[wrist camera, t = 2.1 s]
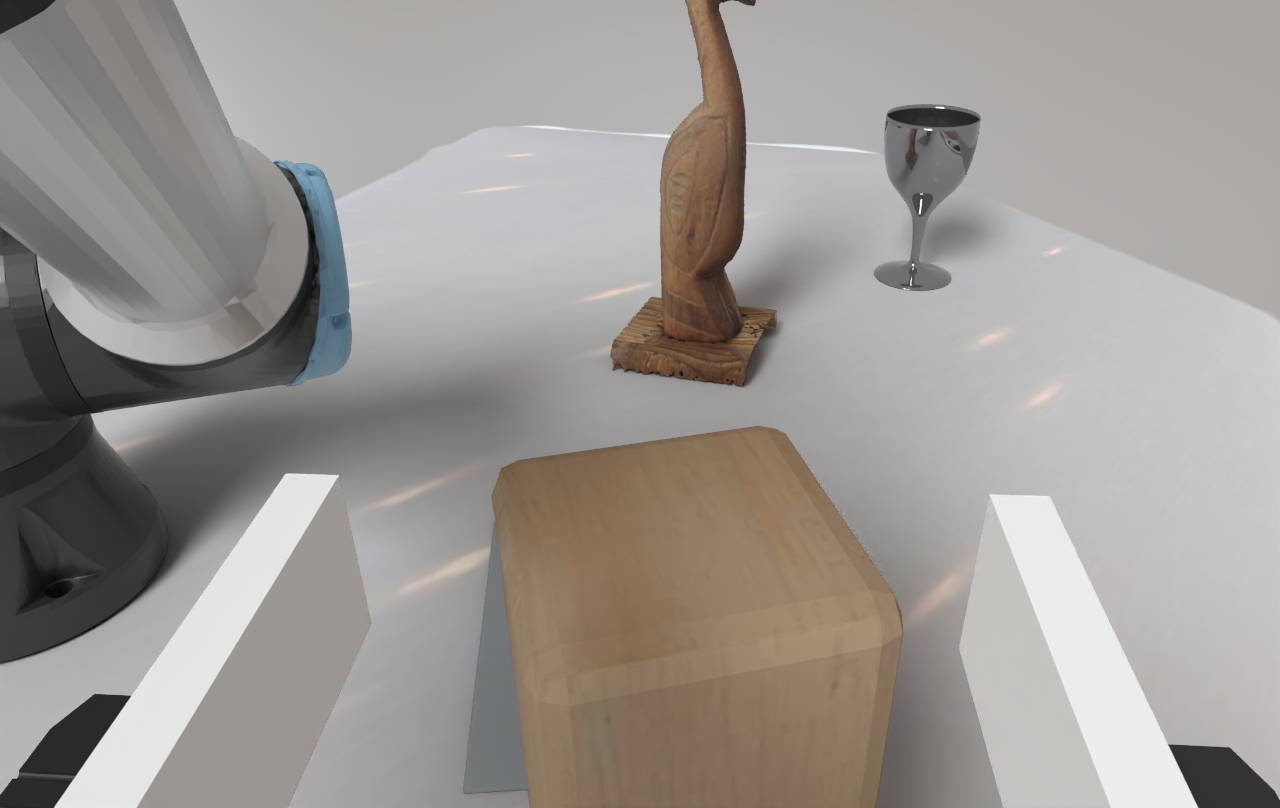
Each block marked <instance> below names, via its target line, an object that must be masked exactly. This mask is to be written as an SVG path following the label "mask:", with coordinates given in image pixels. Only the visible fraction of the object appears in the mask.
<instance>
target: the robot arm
mask: <svg viewBox="0 0 1280 808" xmlns="http://www.w3.org/2000/svg"><path fill="white" fill-rule="evenodd" d="M348 309H349V287H348V279H347V271H346V263H345V256H344V250H343V243H342V237H341V232H340V227H339V221H338V216H337V211H336V207H335V203H334V199H333V195H332V191H331V189H330V187H329V185H328V182H327V179H326V177H325V175H324V173H323V172H322V171H321V170H320V169H319V168H318V167H316V166H314V165H312V164H307V163H298V164H297V163H296V164H293V163H292V162H289V161H275V162H274V163H273V162H272V161H271V160H270V159H268V158H267V157H266V156H265V155H264V154H262V153H261V152H260V151H259V150H258V149H256V148H255V147H253V146H252V145H250V144H248V143H247V142H245V141H244V140H242V139H240V138H238V137H236V136H234V135H233V133H232V130H231V128H230V126H229V124H228V121H227V119H226V117H225V115H224V113H223V110H222V108H221V106H220V104H219V101H218V99H217V97H216V95H215V92H214V90H213V88H212V86H211V84H210V81H209V79H208V77H207V75H206V72H205V70H204V68H203V66H202V63H201V61H200V59H199V57H198V54H197V52H196V50H195V48H194V46H193V43H192V41H191V39H190V37H189V34H188V32H187V30H186V28H185V25H184V23H183V21H182V19H181V16H180V14H179V12H178V10H177V8H176V5H175V4H174V1H173V0H0V662H5V661H9V660H12V659H16V658H20V657H23V656H26V655H29V654H32V653H35V652H38V651H41V650H44V649H46V648H49V647H51V646H54V645H56V644H59V643H61V642H63V641H65V640H68V639H70V638H72V637H74V636H76V635H78V634H80V633H82V632H84V631H85V630H87V629H89V628H91V627H93V626H94V625H96V624H98V623H99V622H101V621H102V620H104V619H106V618H107V617H109V616H110V615H112V614H113V613H114V612H116V611H117V610H119V609H120V608H121V607H122V606H124V605H125V604H126V603H127V602H129V601H130V600H131V599H132V598H133V597H134V596H135V595H137V594H138V593H139V592H140V591H141V590H142V589H143V588H144V587H145V585H146V584H147V583H148V582H149V581H150V580H151V578H152V577H153V576H154V574H155V573H156V571H157V570H158V568H159V567H160V565H161V563H162V561H163V559H164V556H165V553H166V550H167V544H168V535H167V530H166V527H165V524H164V521H163V518H162V515H161V512H160V509H159V506H158V504H157V502H156V500H155V498H154V496H153V494H152V493H151V492H150V490H149V489H148V488H147V487H146V486H144V485H143V484H142V483H141V482H140V481H139V480H138V479H137V477H136V476H135V475H134V474H133V472H132V471H131V470H130V469H129V467H128V466H127V465H126V464H125V463H124V461H123V460H122V459H121V458H120V456H119V455H118V454H117V453H116V452H115V451H114V450H113V448H112V447H111V446H110V445H109V444H108V443H107V442H106V440H105V439H104V438H103V437H102V436H101V435H100V433H99V432H98V431H97V429H96V427H95V425H94V422H93V419H92V417H91V414H92V413H98V412H104V411H109V410H116V409H123V408H129V407H136V406H143V405H150V404H156V403H163V402H170V401H176V400H183V399H190V398H197V397H203V396H210V395H217V394H223V393H230V392H237V391H243V390H250V389H257V388H264V387H270V386H277V385H287V386H295V385H299V384H301V383H303V382H304V381H305V380H309V379H313V378H318V377H322V376H326V375H330V374H333V373H335V372H337V371H338V370H340V369H341V368H342V367H343V366H344V365H345V364H346V362H347V360H348V358H349V355H350V351H351V341H352V330H351V319H350V313H349V311H348ZM370 625H371V619H370V615H369V610H368V605H367V601H366V596H365V592H364V587H363V582H362V578H361V573H360V569H359V564H358V559H357V555H356V550H355V546H354V541H353V536H352V532H351V527H350V523H349V518H348V513H347V509H346V504H345V500H344V495H343V491H342V486H341V481H340V477H339V475H320V474H285V475H284V477H283V478H282V480H281V481H280V483H279V484H278V485H277V487H276V488H275V490H274V491H273V493H272V494H271V495H270V497H269V498H268V500H267V501H266V503H265V504H264V506H263V507H262V508H261V510H260V511H259V513H258V514H257V516H256V517H255V519H254V520H253V521H252V523H251V524H250V526H249V527H248V529H247V530H246V532H245V533H244V534H243V536H242V537H241V539H240V540H239V542H238V543H237V545H236V546H235V547H234V549H233V550H232V552H231V553H230V555H229V556H228V557H227V559H226V560H225V562H224V563H223V565H222V566H221V568H220V569H219V570H218V572H217V573H216V575H215V576H214V578H213V579H212V581H211V582H210V583H209V585H208V586H207V588H206V589H205V591H204V592H203V594H202V595H201V596H200V598H199V599H198V601H197V602H196V604H195V605H194V607H193V608H192V609H191V611H190V612H189V614H188V615H187V617H186V618H185V619H184V621H183V622H182V624H181V625H180V627H179V628H178V630H177V631H176V632H175V634H174V635H173V637H172V638H171V640H170V641H169V643H168V644H167V645H166V647H165V648H164V650H163V651H162V653H161V654H160V656H159V657H158V658H157V660H156V661H155V663H154V664H153V666H152V667H151V669H150V670H149V671H148V673H147V674H146V676H145V677H144V679H143V680H142V681H141V683H140V684H139V686H138V687H137V689H136V690H135V692H134V693H133V694H132V696H125V695H105V694H94V695H93V696H92V697H90V698H89V699H88V700H87V701H85V702H84V703H83V704H81V705H80V706H79V707H78V708H76V709H75V710H74V711H73V712H71V713H70V714H69V715H68V716H66V717H65V718H64V719H62V720H61V721H60V722H59V723H57V724H56V725H55V726H54V727H52V728H51V729H50V730H49V732H48V733H47V734H46V736H45V737H44V738H43V740H42V741H41V742H40V743H39V745H38V746H37V747H36V749H35V750H34V751H33V753H32V754H31V755H30V757H29V758H28V759H27V761H26V762H25V763H24V765H23V766H22V767H21V769H20V770H19V776H18V778H17V779H12V780H11V782H10V783H9V784H8V786H7V787H6V788H5V790H4V791H3V792H2V794H1V795H0V808H288V806H289V804H290V801H291V799H292V797H293V795H294V793H295V790H296V788H297V786H298V784H299V782H300V779H301V777H302V775H303V773H304V771H305V768H306V766H307V764H308V762H309V760H310V757H311V755H312V753H313V751H314V749H315V746H316V744H317V742H318V740H319V738H320V735H321V733H322V731H323V729H324V727H325V724H326V722H327V720H328V718H329V716H330V713H331V711H332V709H333V707H334V705H335V702H336V700H337V698H338V696H339V694H340V691H341V689H342V687H343V685H344V683H345V680H346V678H347V676H348V674H349V672H350V669H351V667H352V665H353V663H354V661H355V658H356V656H357V654H358V652H359V650H360V647H361V645H362V643H363V641H364V639H365V636H366V634H367V632H368V630H369V628H370ZM959 650H960V654H961V658H962V661H963V665H964V668H965V672H966V676H967V679H968V683H969V686H970V690H971V694H972V697H973V701H974V704H975V708H976V712H977V715H978V719H979V723H980V726H981V730H982V733H983V737H984V741H985V744H986V748H987V751H988V755H989V759H990V762H991V766H992V769H993V773H994V777H995V780H996V784H997V787H998V791H999V795H1000V798H1001V802H1002V805H1003V808H1280V800H1279V798H1278V796H1277V795H1276V793H1275V791H1274V790H1273V789H1272V788H1271V787H1270V786H1269V785H1268V784H1267V783H1266V782H1265V781H1264V780H1263V779H1262V778H1261V777H1260V776H1258V775H1257V774H1256V773H1255V772H1254V771H1253V770H1252V769H1251V768H1250V767H1249V766H1248V765H1247V764H1246V763H1245V762H1244V761H1243V760H1242V759H1241V758H1240V757H1239V756H1238V755H1237V754H1236V753H1235V752H1234V751H1233V750H1232V749H1231V748H1229V747H1208V746H1188V745H1168V744H1167V741H1166V739H1165V737H1164V735H1163V733H1162V731H1161V729H1160V727H1159V725H1158V723H1157V720H1156V718H1155V716H1154V714H1153V712H1152V710H1151V708H1150V706H1149V704H1148V702H1147V699H1146V697H1145V695H1144V693H1143V691H1142V689H1141V687H1140V685H1139V683H1138V681H1137V678H1136V676H1135V674H1134V672H1133V670H1132V668H1131V666H1130V664H1129V662H1128V660H1127V658H1126V655H1125V653H1124V651H1123V649H1122V647H1121V645H1120V643H1119V641H1118V639H1117V637H1116V634H1115V632H1114V630H1113V628H1112V626H1111V624H1110V622H1109V620H1108V618H1107V616H1106V613H1105V611H1104V609H1103V607H1102V605H1101V603H1100V601H1099V599H1098V597H1097V595H1096V593H1095V590H1094V588H1093V586H1092V584H1091V582H1090V580H1089V578H1088V576H1087V574H1086V572H1085V569H1084V567H1083V565H1082V563H1081V561H1080V559H1079V557H1078V555H1077V553H1076V551H1075V548H1074V546H1073V544H1072V542H1071V540H1070V538H1069V536H1068V534H1067V532H1066V530H1065V528H1064V525H1063V523H1062V521H1061V519H1060V517H1059V515H1058V513H1057V511H1056V509H1055V507H1054V504H1053V502H1052V500H1051V498H1050V496H1027V495H993V494H989V499H988V504H987V509H986V514H985V519H984V524H983V529H982V535H981V540H980V545H979V550H978V555H977V560H976V565H975V570H974V575H973V580H972V585H971V590H970V595H969V600H968V605H967V610H966V615H965V620H964V625H963V630H962V635H961V640H960V645H959Z"/></svg>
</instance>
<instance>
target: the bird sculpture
mask: <svg viewBox="0 0 1280 808" xmlns="http://www.w3.org/2000/svg"><path fill="white" fill-rule="evenodd" d="M725 1H729V0H685V2H686V4H687V7H688V14H689V17H690V21H691V25H692V29H693V33H694V37H695V41H696V46H697V50H698V60H699V64H700V68H701V77H702V85H703V93H704V94H703V96H704V97H703V99H704V100H703V102H702V103H700V104H699V105H698V106H697V107H696V108H695V109H694V110H692V112H691V113H690V114H689V115H688V116H687V117H686V118H685V119H684V120H683V121H682V123H681V124H680V125H679V126H678V127H677V129H676V130H675V131H674V132H673V134H672V136H671V137H670V139H669V141H668V144H667V146H666V149H665V153H664V156H663V162H662V170H661V181H660V193H661V208H660V211H661V217H660V218H661V226H660V246H661V276H662V279H661V285H662V298H656V297H651V298H650V299H649V301H648V302H646V303H645V305H644V307H642V309H641V310H640V312H638V313H637V314H636V316H635V317H633V318H632V320H631V322H630V323H629V324H628V326H630V327H627V326H626V328H624V329H623V331H622V332H621V333H620V335H619V336H618V337H617V338H616V339H615V340H614V342H613V345H612V349H611V358H612V359H613V371H614V370H615V368H616V367H617V366H618V365H621V366H622V367H623V369H624V371H625V372H626V370H627V369H635V371H636V372H637V373H638V372H640V371H642V372H643V374H649V373H650V372H654V373H655V374H657V373H658V372H660V373H661V375H660V376H663V375H665V376H666V377H667V376H669V377H670V374H671V375H672V374H673V372H674V375H675V377H678V378H680V379H683V378H686V379H690V380H691V379H693V378H694V380H698V381H704V382H707V381H708V380H709V381H713V382H714V383H716V382H719V383H720V384H721V383H722V382H725V383H727V384H730V383H731V381H732V380H734V384H735V385H738V386H743V385H744V381H745V380H746V372H747V367H748V364H749V360H750V356H751V353H752V351H753V350H754V348H753V347H754V346H755V345H756V344H757V341H758V340H759V338H760V336H761V333H762V332H763V330H764V329H762V328H761V329H759V328H760V327H759V326H762V324H764V326H766V325H768V326H769V327H776V323H777V315H776V312H777V311H776V310H771V309H761V308H751V307H740V306H738V305H737V302H736V299H735V295H734V292H733V289H732V286H731V284H730V282H729V280H728V277H727V274H726V272H725V269H724V267H725V266H726V264H727V263H728V262H730V261H731V260H732V259H733V257H734V256H735V254H736V252H737V250H738V249H739V247H740V244H741V241H742V237H743V229H744V185H745V168H746V126H745V109H744V102H743V95H742V88H741V83H740V79H739V74H738V70H737V67H736V63H735V60H734V57H733V53H732V49H731V47H730V43H729V40H728V36H727V33H726V30H725V26H724V23H723V20H722V18H721V14H720V12H719V4H720V3H721V2H723V3H724V2H725ZM735 1H739V2H741V3H743V4H746V5H752V6H754V5H755V3H756V2H755V1H756V0H735ZM650 313H652V314H650ZM662 315H663V316H662ZM656 317H659V318H657V319H655V318H656ZM660 321H663V322H660ZM657 322H658V323H657ZM655 323H656V324H655ZM746 324H747V325H746ZM752 324H754V325H752ZM657 325H660V326H661V327H663V328H661V327H657ZM748 325H749V326H752V327H753V329H759V330H755V331H754V330H753V329H752V328H749V326H748ZM742 326H744V327H742ZM745 327H748V328H745ZM654 330H656V332H655V331H654ZM650 331H653V332H652V333H651V332H650ZM756 331H760V332H757V333H754V334H750V333H752V332H756ZM623 332H625V333H623ZM747 332H749V333H747ZM629 333H631V334H629ZM663 334H665V335H663ZM755 334H757V335H756V336H758V337H757V338H756V337H755V338H754V335H755ZM644 335H646V336H644ZM662 335H663V336H662ZM636 337H637V338H636ZM668 337H673V339H668ZM679 340H685V341H686V342H683V341H679ZM721 341H726V342H725V343H724V342H721ZM701 342H702V343H701ZM711 342H712V343H715V344H712V343H711ZM681 371H682V372H683V375H684V376H682V377H681V376H680V375H679V374H680V372H681ZM696 376H698V378H697V379H696ZM726 379H729V381H728V382H727V380H726ZM730 385H732V384H730Z"/></svg>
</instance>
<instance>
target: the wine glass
mask: <svg viewBox="0 0 1280 808" xmlns="http://www.w3.org/2000/svg"><path fill="white" fill-rule="evenodd" d="M980 121H981V118H980V115H979V114H977V113H976V112H973V111H971V110H968V109H964V108H960V107H954V106H946V105H932V104H921V105H907V106H901V107H896V108H894V109H891V110H889V111H888V112H887V116H886V124H885V138H884V152H885V164H886V170H887V174H888V177H889V180H890V181H891V183H892V185H893V186H894V188H895V189H896V190H897V192H898V193H899V194H900V196H901V197H902V198H903V200H904V201H905V202H906V204H907V206H908V208H909V210H910V213H911V216H912V224H913V238H912V250H911V256H910V260H902V261H892V262H887V263H884V264H882V265H880V266H878V267H877V268H876V269H875V271H874V275H875V277H876V278H877V279H878V280H879V281H881V282H882V283H884V284H886V285H889V286H892V287H895V288H900V289H905V290H918V291H923V290H934V289H938V288H941V287H944V286H946V285H948V284H949V283H950V282H951V275H950V273H949V272H948V271H946V270H945V269H943V268H941V267H939V266H937V265H934V264H931V263H926V262H921V261H919V254H920V247H921V241H922V237H923V233H924V229H925V226H926V222H927V220H928V218H929V216H930V214H931V213H932V211H933V210H934V209H935V208H936V207H937V206H938V205H939V204H940V203H941V202H942V201H943V200H944V199H945V198H946V197H948V196H949V195H950V194H951V193H952V192H953V191H954V190H955V189H957V187H958V186H959V185H960V184H961V183H962V181H963V180H964V178H965V176H966V174H967V172H968V169H969V167H970V164H971V162H972V159H973V155H974V152H975V149H976V144H977V140H978V135H979V128H980Z"/></svg>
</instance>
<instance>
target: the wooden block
mask: <svg viewBox="0 0 1280 808" xmlns="http://www.w3.org/2000/svg"><path fill="white" fill-rule="evenodd" d="M492 502H493V510H494V518H495V527H496V535H497V543H498V551H499V559H500V567H501V576H502V584H503V592H504V600H505V608H506V616H507V625H508V633H509V641H510V649H511V657H512V665H513V673H514V682H515V690H516V698H517V706H518V714H519V722H520V731H521V739H522V747H523V755H524V763H525V771H526V780H527V788H528V796H529V804H530V808H876V802H877V796H878V789H879V783H880V777H881V770H882V764H883V757H884V751H885V745H886V738H887V732H888V726H889V719H890V713H891V706H892V700H893V694H894V687H895V681H896V675H897V668H898V662H899V656H900V649H901V643H902V636H903V628H902V617H901V611H900V609H899V606H898V603H897V601H896V598H895V596H894V594H893V592H892V591H891V589H890V588H889V586H888V585H887V583H886V582H885V580H884V579H883V577H882V576H881V574H880V573H879V571H878V570H877V569H876V567H875V566H874V564H873V563H872V561H871V560H870V558H869V557H868V555H867V554H866V552H865V551H864V549H863V548H862V546H861V545H860V543H859V542H858V540H857V539H856V537H855V536H854V534H853V533H852V531H851V530H850V529H849V527H848V526H847V524H846V523H845V521H844V520H843V518H842V517H841V515H840V514H839V512H838V511H837V509H836V508H835V506H834V505H833V503H832V502H831V500H830V499H829V497H828V496H827V494H826V493H825V492H824V490H823V489H822V487H821V486H820V484H819V483H818V481H817V480H816V478H815V477H814V475H813V474H812V472H811V471H810V469H809V468H808V466H807V465H806V463H805V462H804V460H803V459H802V457H801V456H800V455H799V453H798V452H797V450H796V449H795V447H794V446H793V444H792V443H791V441H790V440H789V438H788V437H787V435H786V434H784V433H782V432H781V431H779V430H777V429H772V428H766V427H760V426H756V427H749V428H742V429H735V430H728V431H721V432H714V433H707V434H700V435H693V436H686V437H679V438H672V439H665V440H658V441H651V442H644V443H637V444H630V445H622V446H615V447H608V448H601V449H594V450H587V451H580V452H573V453H566V454H559V455H552V456H545V457H538V458H531V459H524V460H518V461H516V462H514V463H512V464H510V465H508V466H506V467H504V468H502V469H501V471H500V474H499V477H498V480H497V482H496V485H495V488H494V491H493V494H492Z"/></svg>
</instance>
